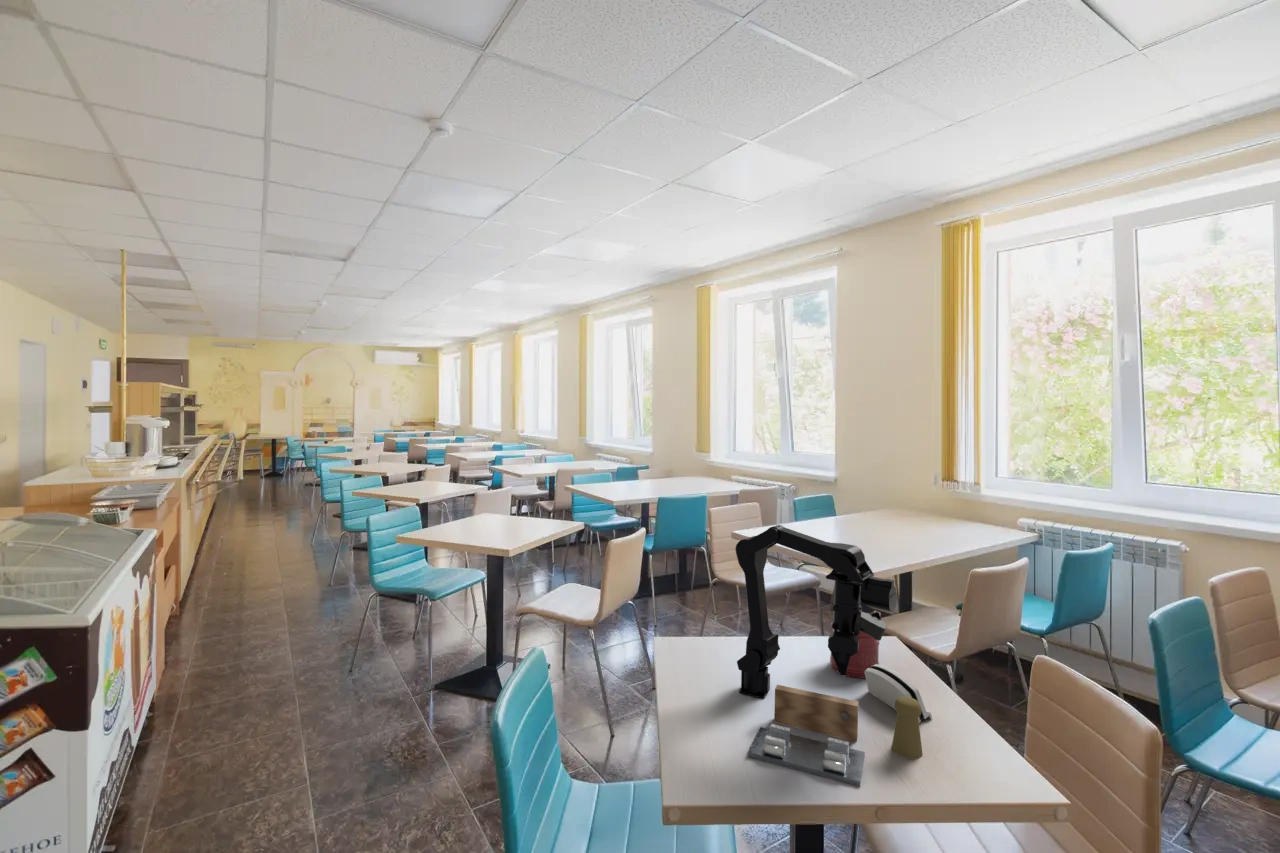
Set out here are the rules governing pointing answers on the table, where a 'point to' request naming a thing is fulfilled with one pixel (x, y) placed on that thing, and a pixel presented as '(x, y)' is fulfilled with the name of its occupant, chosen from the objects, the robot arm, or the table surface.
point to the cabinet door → (816, 712)
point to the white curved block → (892, 687)
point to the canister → (861, 656)
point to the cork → (907, 728)
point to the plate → (808, 754)
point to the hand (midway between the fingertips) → (844, 667)
